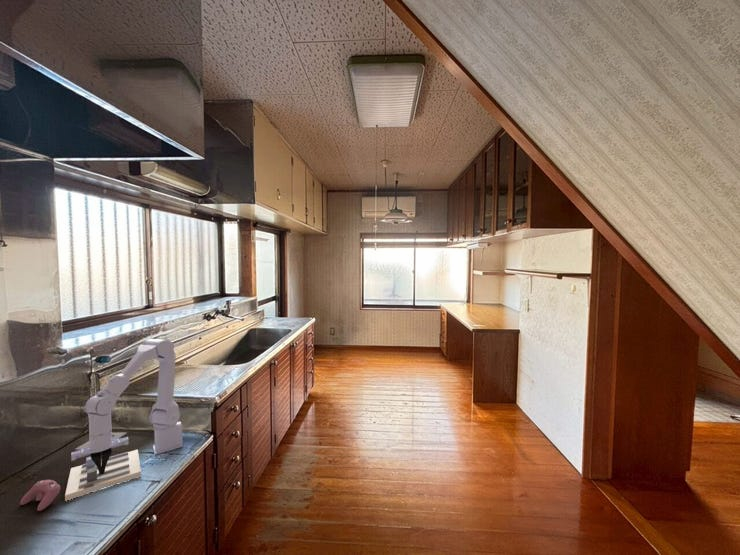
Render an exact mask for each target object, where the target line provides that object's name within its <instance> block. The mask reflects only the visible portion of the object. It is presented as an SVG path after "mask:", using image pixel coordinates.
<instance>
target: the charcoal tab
mask: <svg viewBox="0 0 740 555" xmlns="http://www.w3.org/2000/svg"><path fill="white" fill-rule="evenodd" d="M94 480H97V468H93V469H90V470H87V483H88V482H91V481H94Z"/></svg>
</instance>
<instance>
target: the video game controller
mask: <svg viewBox="0 0 740 555" xmlns="http://www.w3.org/2000/svg"><path fill="white" fill-rule="evenodd" d="M60 490H61V485H60V484H58V483H57V481H55V480H53V479H43V480H40V481H39V480H38V481H37V482H36V483H34V485H33V486H32V487H31V488H29V490H28V491H27V492H26V493H25V494H24V496H22V498H21V500H20V502H19V504H20V505H22V506H23V505H26V504H27V503H30V501H32V500H34V498H35V501H37V502H38V501H39V504H38V505H37V509H36V510H37V511H38V512H41V511H43V510H45V509H46V508H47V507H49V506H50V504H51V503H52V502H53V501H54V500H55V498H56V497H57V496H58V495H59V494H60Z"/></svg>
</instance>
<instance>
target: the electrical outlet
mask: <svg viewBox="0 0 740 555" xmlns="http://www.w3.org/2000/svg"><path fill="white" fill-rule="evenodd" d="M127 434H128V432H112V440H114V439H120V438H124V437H125V436H126V435H127ZM88 446H90V441H89V440H88V441H86V442H85V443H83V444H82V445H79V446H77V447H76V448H74V451H78V450H81V449H83V448H86V447H88Z"/></svg>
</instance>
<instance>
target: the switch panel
mask: <svg viewBox="0 0 740 555" xmlns="http://www.w3.org/2000/svg"><path fill="white" fill-rule="evenodd" d="M139 456H140V455H139V450H138V449H134V450H131V451H126V452H122V453H119V454H115V455H112V456H111V455H110V457H109V459H108V461H107V464H106V467H105V473H104V474H101V475H99V471H98V468H97V466H95V467H92V468H88V469H86V463H83V464H81V465H78V466H74V467H71V468H70V472H69V476H68V480H67V485H66V489H65V494H64V501H66V502H68V501H67V500H69V501H72V500H74V499H73V498H76V497H79V496H82V495H84V494H87V493H89V492H92V491H95V490H98V489H101V488H104V487H108V486H111V485H114V484H117V483H121V482H124V481H128V480H131V479H134V478H137V477H140V476H141V477H142V470H141V463H140V457H139ZM101 466H102V458H101ZM93 468H97V480H94V481H91V482H88V483H87V470H90V469H93ZM141 477H140V478H141ZM137 479H138V478H137ZM134 480H135V479H134ZM131 481H132V480H131ZM128 482H129V481H128ZM82 497H83V496H82ZM79 498H80V497H79ZM71 499H72V500H71ZM76 499H77V498H76Z"/></svg>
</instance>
